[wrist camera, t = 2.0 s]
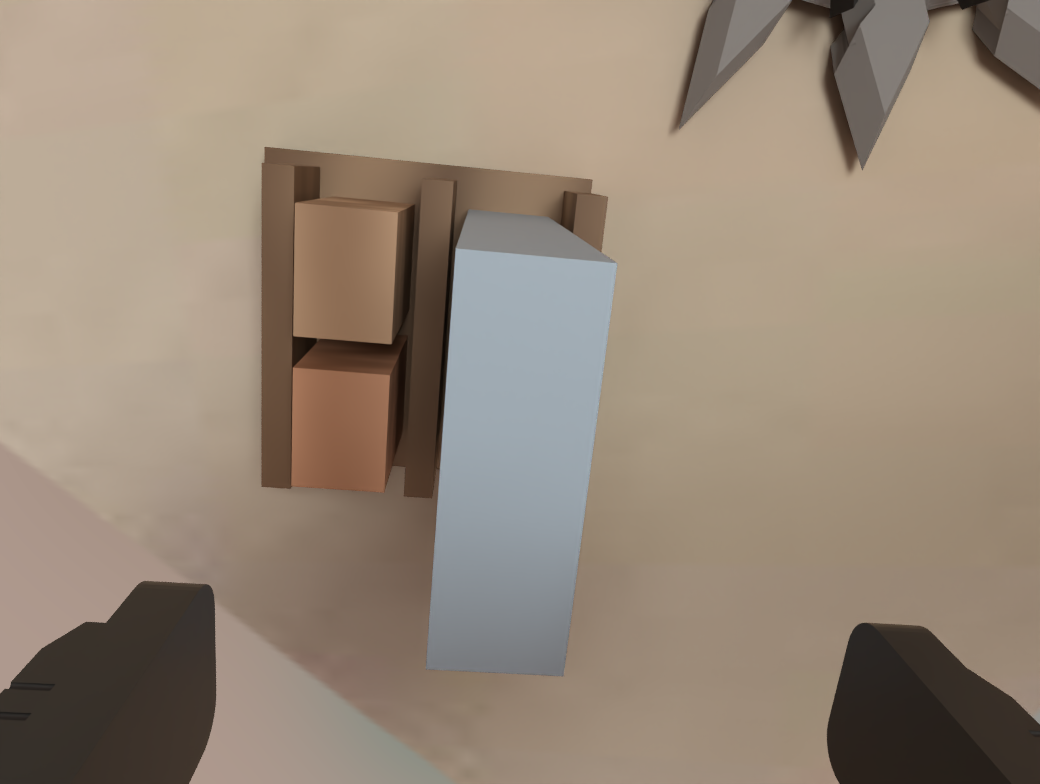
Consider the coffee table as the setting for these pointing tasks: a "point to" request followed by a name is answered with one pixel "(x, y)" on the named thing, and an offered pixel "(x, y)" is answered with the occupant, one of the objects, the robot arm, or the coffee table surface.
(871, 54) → the decorative piece
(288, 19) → the coffee table surface
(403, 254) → the offcut
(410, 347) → the rack
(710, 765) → the coffee table surface
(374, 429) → the offcut
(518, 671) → the tall board
